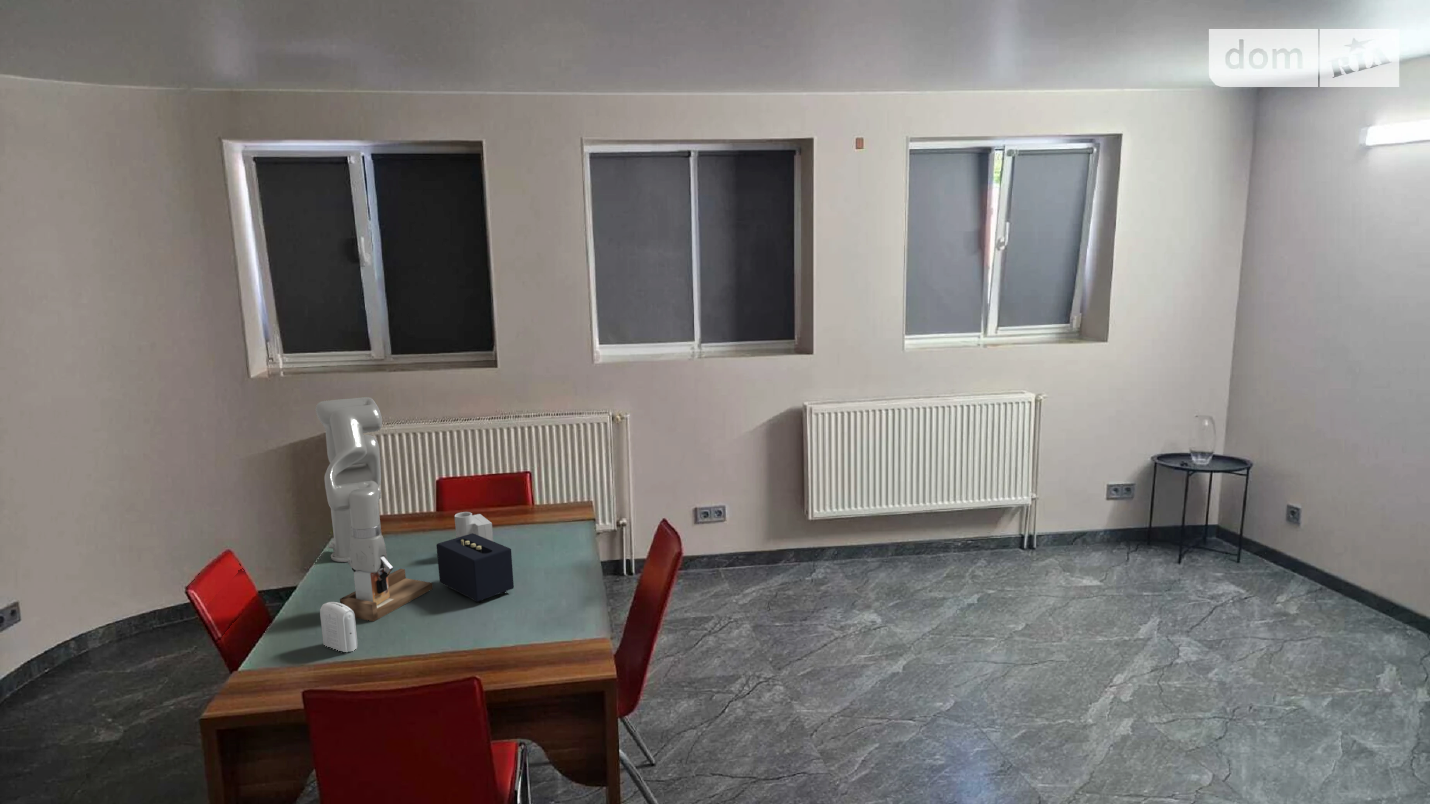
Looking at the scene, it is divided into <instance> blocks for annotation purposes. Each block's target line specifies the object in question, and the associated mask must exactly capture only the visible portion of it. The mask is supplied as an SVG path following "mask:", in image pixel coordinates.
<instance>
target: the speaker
mask: <svg viewBox="0 0 1430 804" xmlns="http://www.w3.org/2000/svg"><path fill="white" fill-rule="evenodd" d="M436 555H437V567H438V577H439V583H440V584H441V585H444V586H446V587H447V588H448V589H452V590H454V592H457V593H460V594H461V595H464V596H465V597H467V598H470V599H471V600H473V601H475V603H478V604H479V603H481V602H483V600H486V599H488V598H491V597H494V596H496V595H499V594H501V593H503V594H506V593H507V591H511V590H513V589H514V588H515V585H514V572H513V571H514V570H513V559H512V558H513V557H512V549H511V548H510V547H508V546H506V545H503V544H501V543H497V542H495V541H494V540H493V541H491V540H488V539H486V538H483V537H481V536H479V535H476V534H474V533H472V534H468V535H465V536H461V537H458V538H456V537H455V538H451V539H449V540H445V541H441V542H438V543H436ZM505 592H506V593H505Z"/></svg>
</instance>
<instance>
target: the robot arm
mask: <svg viewBox="0 0 1430 804" xmlns="http://www.w3.org/2000/svg"><path fill="white" fill-rule="evenodd" d="M315 414H316V418H317V419H318V421H319V422H320V424H321V425H322V426H323V428H324V432H325V441H326V451H327V452H326V453H327V459H328V462H329V464H328V466H327V469H326V471H325V473H324V488H325V494H326V498H327V500H326V501H327V504H328V506H329V507H330V508H329V509H330V514H331V515H330V516H331V521H332V523H331V525H332V531H333V540H332V541H331V542H330V543H329V544H328V549H333V552H332V553H331V554H330V557H331V561H333V562H338V563H348V565H349V566H350V567H351V570H352V571H353V573H354V572H356V571H358V570H359V571H365V572H371V573H375V574H376V576H377V578H378V580H377V581H376V583H377V592H378V593H379V594H380V593H382V592H384V591H386V590H387V581H386V578H387V577H388V575H389V574H391V573H392V571H393V569H394V567H393V565H392V564H391V563H390V562H389V561H388V554H387V549H386V548H387V546H386V543H385V540H384V536H383V535H382V526H381V520H380V519H381V518H380V516H381V515H380V507H379V502H380V500H381V498H382V497H381V496H382V491H381V487H380V486H381V482H382V470H381V469H382V468H381V451H380V450H381V449H380V444H379V441H378V440H377V438H376V437H375V436H373V435H371V434H366V433H374V432H379V431H380V430H381V429H382V427H383V417H382V413H381V411H380V408H379V406H378V405H377V403H376V402H375V400H374V399H373V398H372V397H369V396H367V397H365V396H363V397H352V398H342V399H332V400H330V399H329V400H322V401H319V402H318V403H317V404H316V405H315ZM379 571H381V572H382V574H380V572H379Z"/></svg>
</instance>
